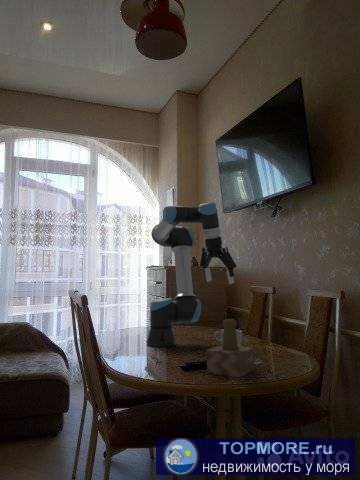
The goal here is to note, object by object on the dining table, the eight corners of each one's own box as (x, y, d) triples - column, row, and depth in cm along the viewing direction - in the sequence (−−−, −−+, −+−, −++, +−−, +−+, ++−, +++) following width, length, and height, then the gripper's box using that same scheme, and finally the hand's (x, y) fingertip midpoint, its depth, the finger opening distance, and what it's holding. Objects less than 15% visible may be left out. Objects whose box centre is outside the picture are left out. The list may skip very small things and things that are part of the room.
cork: (220, 347, 139) (219, 318, 141) (235, 346, 140) (235, 317, 141) (224, 350, 134) (223, 320, 135) (240, 350, 134) (239, 319, 135)
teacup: (241, 344, 187) (241, 328, 187) (243, 349, 176) (242, 332, 177) (214, 344, 188) (214, 328, 189) (214, 348, 177) (213, 331, 178)
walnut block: (207, 372, 134) (206, 350, 135) (223, 364, 145) (223, 344, 146) (239, 377, 127) (238, 354, 128) (254, 369, 138) (253, 347, 138)
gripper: (187, 239, 171) (195, 282, 174) (228, 238, 152) (236, 287, 156) (198, 235, 176) (206, 277, 179) (239, 234, 157) (246, 281, 160)
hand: (220, 282), depth 167 cm, fingers open, 13 cm apart
